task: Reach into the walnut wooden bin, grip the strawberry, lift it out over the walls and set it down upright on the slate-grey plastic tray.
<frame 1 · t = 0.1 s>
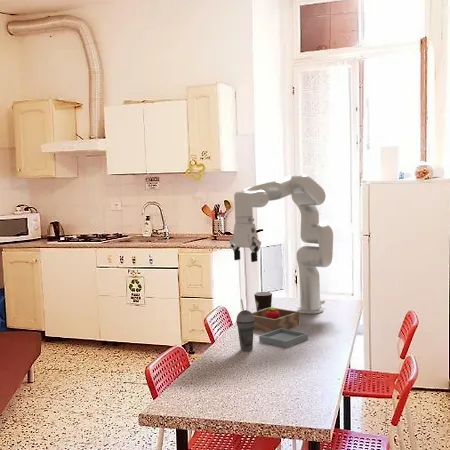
hand: (245, 260, 253), 31 cm above the table, tool pointing down, fingers open, 9 cm apart
walnut bin: (273, 326, 263), on the table
slate tray: (283, 340, 241), on the table
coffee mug: (263, 313, 287), on the table
beverage cup: (246, 350, 231), on the table
strawberry: (273, 327, 263), resting in walnut bin
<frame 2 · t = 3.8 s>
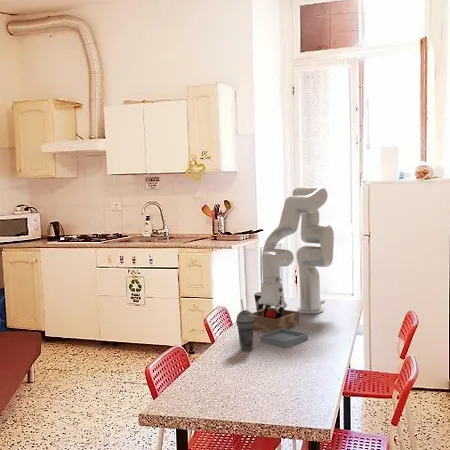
hand: (272, 319, 263), 3 cm above the table, tool pointing down, fingers closed on strawberry, 6 cm apart
strawberry: (273, 327, 263), resting in walnut bin, touching gripper
everything else where it was.
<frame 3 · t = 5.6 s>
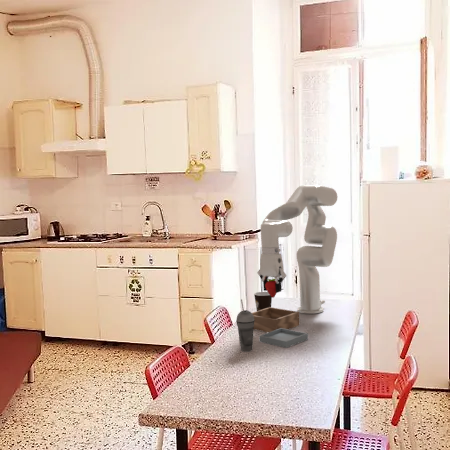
hand: (272, 290, 262), 16 cm above the table, tool pointing down, fingers closed on strawberry, 6 cm apart
strawberry: (272, 298, 262), point 13 cm above the table, touching gripper
everything else where it was.
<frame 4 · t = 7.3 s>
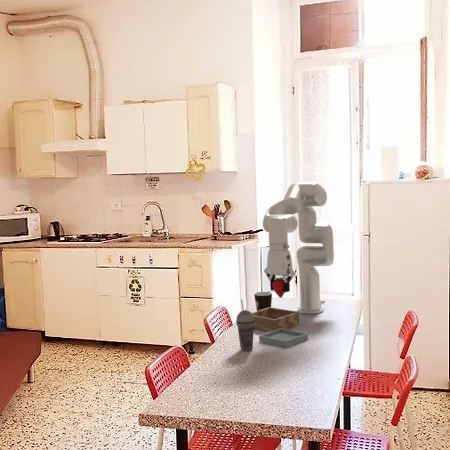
hand: (280, 290, 242), 20 cm above the table, tool pointing down, fingers closed on strawberry, 6 cm apart
strawberry: (280, 298, 243), point 17 cm above the table, touching gripper
everything else where it was.
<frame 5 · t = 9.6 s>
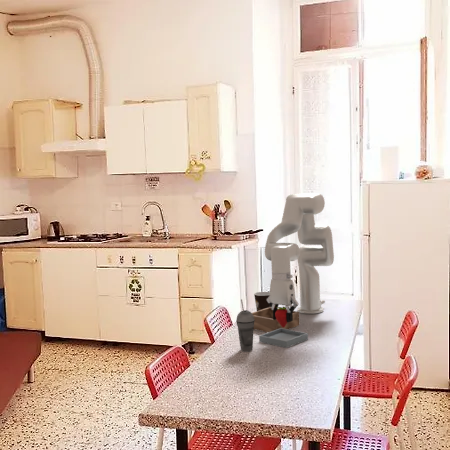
hand: (282, 319, 240), 9 cm above the table, tool pointing down, fingers closed on strawberry, 6 cm apart
strawberry: (283, 327, 240), point 5 cm above the table, touching gripper
everything else where it was.
when the fingers open (5 cm above the table, at t = 11.2 s): strawberry drops 1 cm, resting on slate tray.
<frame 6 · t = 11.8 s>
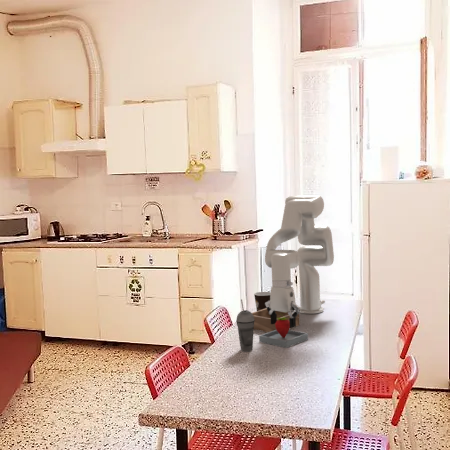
hand: (283, 325, 240), 6 cm above the table, tool pointing down, fingers open, 9 cm apart
strawberry: (283, 338, 241), point 1 cm above the table, touching slate tray
everything else where it was.
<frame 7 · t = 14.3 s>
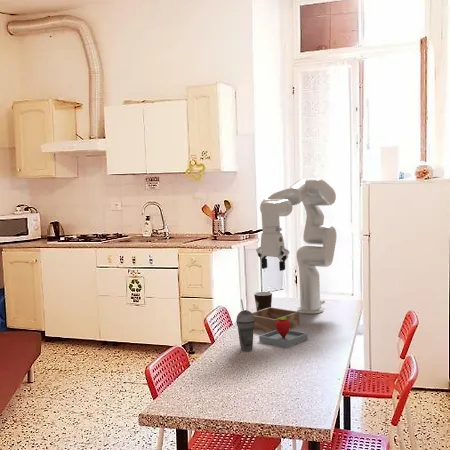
hand: (273, 269, 257), 26 cm above the table, tool pointing down, fingers open, 9 cm apart
nothing on the table moved.
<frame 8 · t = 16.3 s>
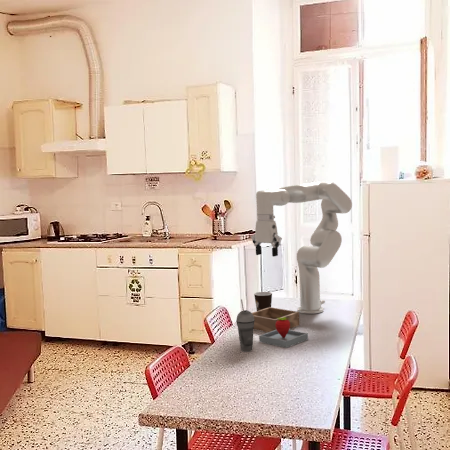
hand: (266, 255, 271), 30 cm above the table, tool pointing down, fingers open, 9 cm apart
nothing on the table moved.
at the end: strawberry inside the target area on the slate tray (0.4 cm from its centre), point 0.8 cm above the slate tray's base; strawberry tilted 0°; the gripper is holding nothing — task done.
